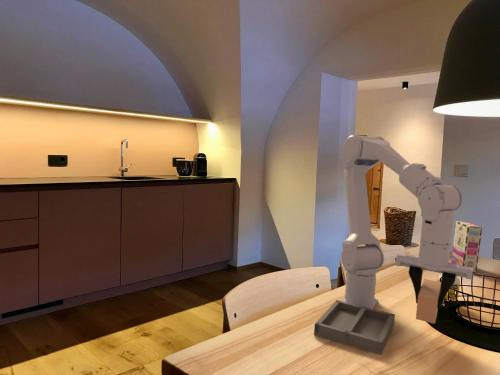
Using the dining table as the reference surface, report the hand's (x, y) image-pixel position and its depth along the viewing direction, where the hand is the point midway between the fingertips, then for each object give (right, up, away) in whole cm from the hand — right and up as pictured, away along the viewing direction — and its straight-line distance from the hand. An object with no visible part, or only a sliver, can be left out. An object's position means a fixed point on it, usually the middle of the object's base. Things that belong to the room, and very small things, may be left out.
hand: (428, 304), depth 81 cm
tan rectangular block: (0, -1, 0) cm, 1 cm away
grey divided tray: (-14, -7, +5) cm, 17 cm away
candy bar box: (+40, -5, +58) cm, 71 cm away
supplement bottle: (+15, -7, +23) cm, 28 cm away
